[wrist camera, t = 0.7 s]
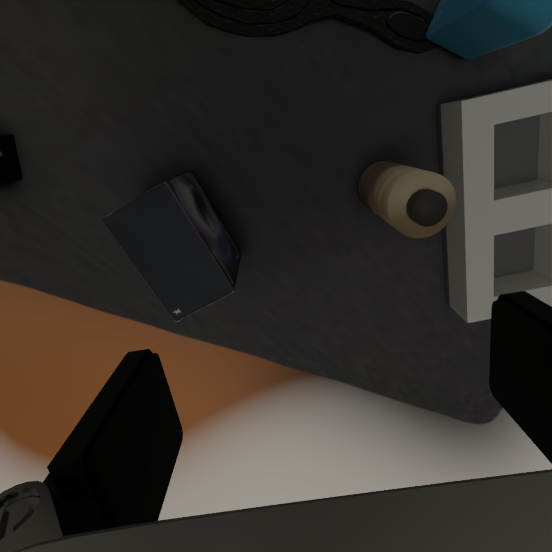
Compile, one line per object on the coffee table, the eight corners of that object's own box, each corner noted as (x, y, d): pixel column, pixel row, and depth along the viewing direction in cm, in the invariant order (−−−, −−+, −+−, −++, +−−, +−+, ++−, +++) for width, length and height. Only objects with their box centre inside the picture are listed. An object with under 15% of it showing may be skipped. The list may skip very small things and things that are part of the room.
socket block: (435, 105, 35) (462, 100, 31) (565, 75, 35) (613, 66, 30) (446, 302, 43) (468, 324, 38) (552, 281, 43) (588, 300, 38)
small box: (246, 254, 41) (239, 293, 31) (195, 280, 42) (174, 326, 32) (193, 166, 37) (166, 179, 27) (139, 197, 38) (96, 220, 28)
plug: (354, 166, 37) (392, 182, 26) (403, 155, 37) (463, 166, 26) (360, 214, 39) (398, 248, 28) (407, 204, 39) (465, 234, 28)
